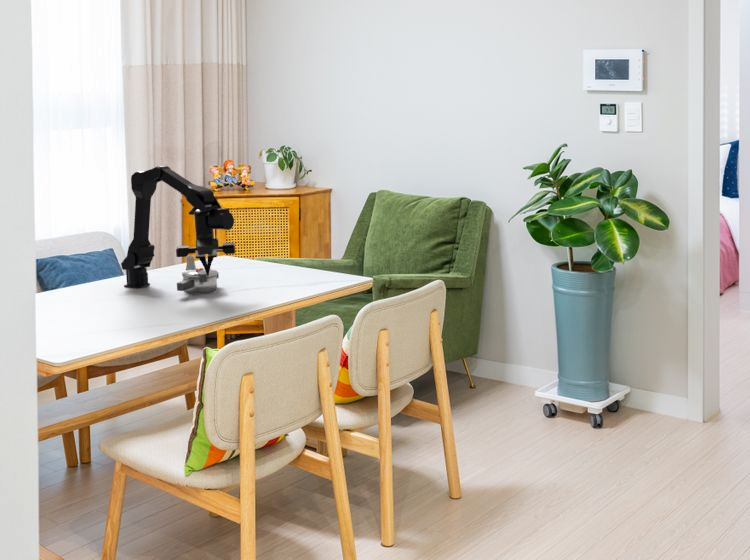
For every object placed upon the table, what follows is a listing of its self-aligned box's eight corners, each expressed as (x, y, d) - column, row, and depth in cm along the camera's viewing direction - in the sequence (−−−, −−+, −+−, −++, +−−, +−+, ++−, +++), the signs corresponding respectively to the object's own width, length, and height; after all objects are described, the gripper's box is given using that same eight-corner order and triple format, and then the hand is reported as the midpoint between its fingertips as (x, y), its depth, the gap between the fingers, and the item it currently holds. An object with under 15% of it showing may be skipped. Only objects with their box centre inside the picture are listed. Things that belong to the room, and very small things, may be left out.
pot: (200, 284, 329) (199, 270, 328) (227, 287, 325) (227, 272, 324) (165, 296, 311) (165, 281, 310) (194, 299, 306) (194, 283, 305)
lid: (180, 272, 322) (180, 265, 322) (215, 270, 325) (215, 263, 325) (185, 282, 305) (185, 275, 305) (221, 280, 309) (221, 273, 308)
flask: (197, 287, 325) (196, 258, 323) (177, 286, 326) (176, 257, 324) (205, 283, 331) (204, 255, 330) (185, 282, 333) (184, 254, 331)
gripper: (173, 234, 298) (177, 282, 301) (233, 230, 300) (236, 278, 304) (175, 228, 309) (179, 275, 312) (233, 225, 311) (236, 272, 314)
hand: (207, 275), depth 310 cm, fingers closed
